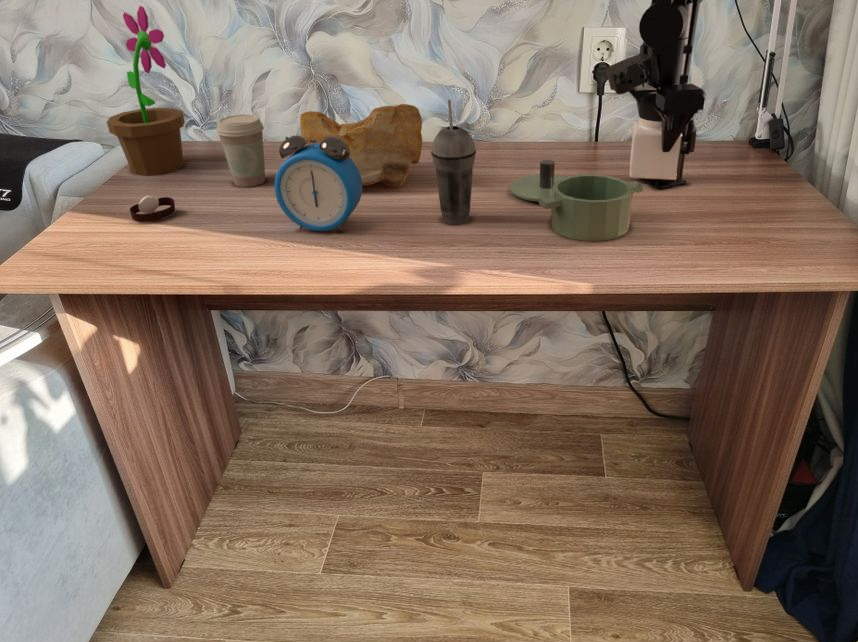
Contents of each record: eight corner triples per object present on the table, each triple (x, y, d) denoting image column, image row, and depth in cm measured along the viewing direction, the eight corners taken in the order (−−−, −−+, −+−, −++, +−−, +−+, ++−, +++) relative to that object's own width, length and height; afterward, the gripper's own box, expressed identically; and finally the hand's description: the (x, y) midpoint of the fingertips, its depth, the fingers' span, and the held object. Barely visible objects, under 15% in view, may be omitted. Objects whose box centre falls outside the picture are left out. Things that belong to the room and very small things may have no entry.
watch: (170, 207, 131) (165, 188, 129) (182, 214, 128) (177, 194, 126) (128, 219, 127) (122, 199, 125) (139, 226, 124) (133, 206, 122)
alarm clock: (280, 231, 121) (265, 141, 113) (293, 217, 126) (279, 130, 118) (356, 234, 119) (346, 143, 111) (367, 220, 124) (358, 132, 116)
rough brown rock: (440, 171, 147) (435, 93, 140) (421, 194, 132) (415, 108, 126) (330, 171, 151) (320, 95, 144) (300, 193, 136) (288, 110, 129)
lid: (497, 185, 137) (497, 156, 134) (560, 175, 141) (562, 146, 138) (530, 210, 126) (530, 179, 123) (597, 198, 131) (600, 167, 128)
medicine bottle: (676, 180, 113) (687, 101, 106) (629, 178, 114) (637, 99, 108) (674, 165, 119) (684, 89, 112) (629, 164, 120) (637, 88, 114)
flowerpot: (208, 162, 152) (175, 5, 136) (151, 183, 142) (107, 15, 126) (164, 152, 159) (127, 1, 143) (106, 171, 149) (59, 11, 133)
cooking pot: (523, 221, 122) (524, 183, 119) (615, 204, 128) (618, 167, 125) (560, 249, 112) (562, 209, 109) (658, 229, 118) (662, 191, 115)
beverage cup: (482, 213, 125) (481, 94, 115) (469, 230, 120) (466, 105, 109) (443, 209, 128) (438, 91, 117) (427, 225, 122) (421, 102, 111)
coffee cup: (218, 186, 140) (204, 123, 133) (245, 172, 146) (233, 112, 140) (255, 191, 137) (243, 127, 131) (281, 177, 144) (271, 115, 137)
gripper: (595, 29, 113) (588, 130, 121) (637, 51, 97) (625, 166, 105) (664, 25, 114) (652, 126, 122) (716, 47, 98) (699, 160, 107)
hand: (655, 143), depth 114 cm, fingers closed on medicine bottle, 8 cm apart
